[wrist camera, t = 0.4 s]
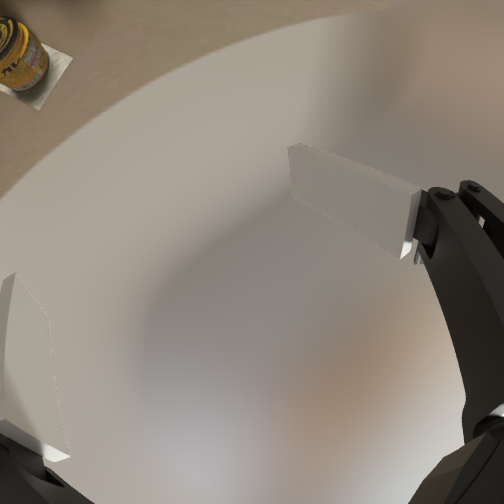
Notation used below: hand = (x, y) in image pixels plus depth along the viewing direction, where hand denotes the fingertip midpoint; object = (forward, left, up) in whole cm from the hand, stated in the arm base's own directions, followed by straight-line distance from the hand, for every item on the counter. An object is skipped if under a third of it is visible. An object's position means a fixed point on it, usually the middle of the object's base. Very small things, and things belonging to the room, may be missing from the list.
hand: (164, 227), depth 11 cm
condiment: (-17, -11, -24) cm, 32 cm away
